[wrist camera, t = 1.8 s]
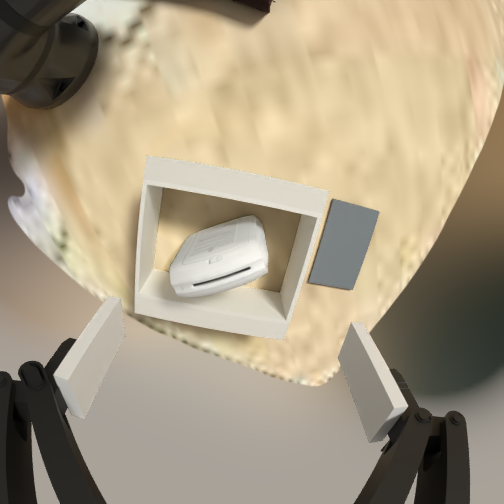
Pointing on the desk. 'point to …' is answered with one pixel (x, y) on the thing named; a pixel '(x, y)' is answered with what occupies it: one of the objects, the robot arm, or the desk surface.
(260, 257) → the photo printer
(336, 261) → the mat
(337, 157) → the desk surface
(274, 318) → the carton
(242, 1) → the diary
